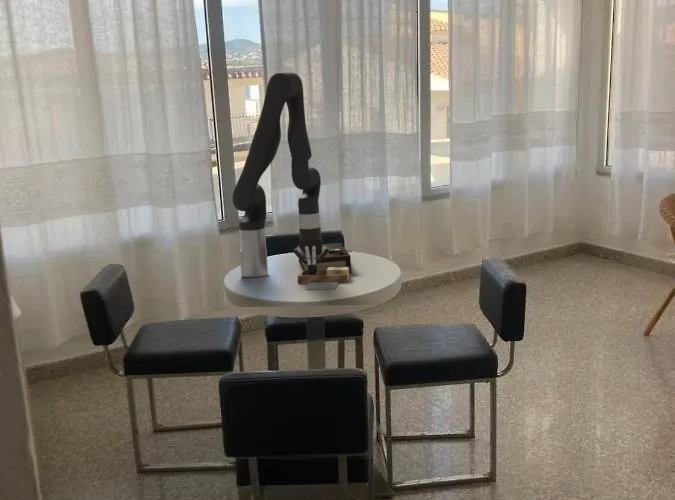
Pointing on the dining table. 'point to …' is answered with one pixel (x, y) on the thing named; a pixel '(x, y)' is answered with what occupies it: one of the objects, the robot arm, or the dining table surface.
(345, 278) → the shelf bay
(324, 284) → the rubber pad
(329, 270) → the block
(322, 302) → the dining table surface
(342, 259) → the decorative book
